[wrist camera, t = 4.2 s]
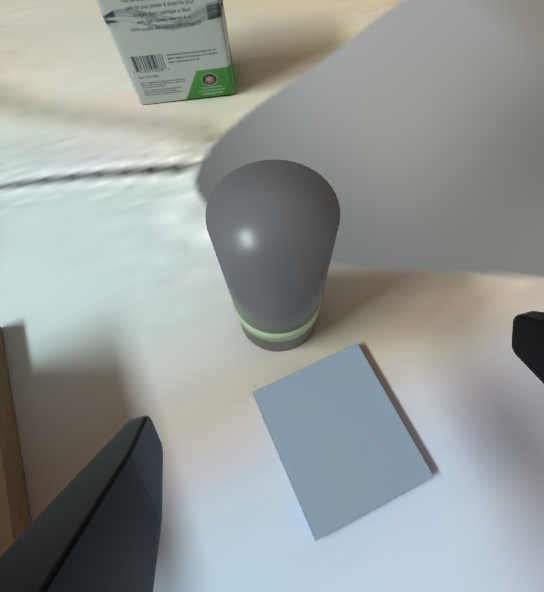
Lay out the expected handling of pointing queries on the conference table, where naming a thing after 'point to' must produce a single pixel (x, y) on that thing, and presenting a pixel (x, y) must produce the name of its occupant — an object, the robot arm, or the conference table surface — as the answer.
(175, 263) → the conference table surface
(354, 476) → the slate mat
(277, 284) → the cartridge
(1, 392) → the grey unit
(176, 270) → the conference table surface
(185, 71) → the ink box
